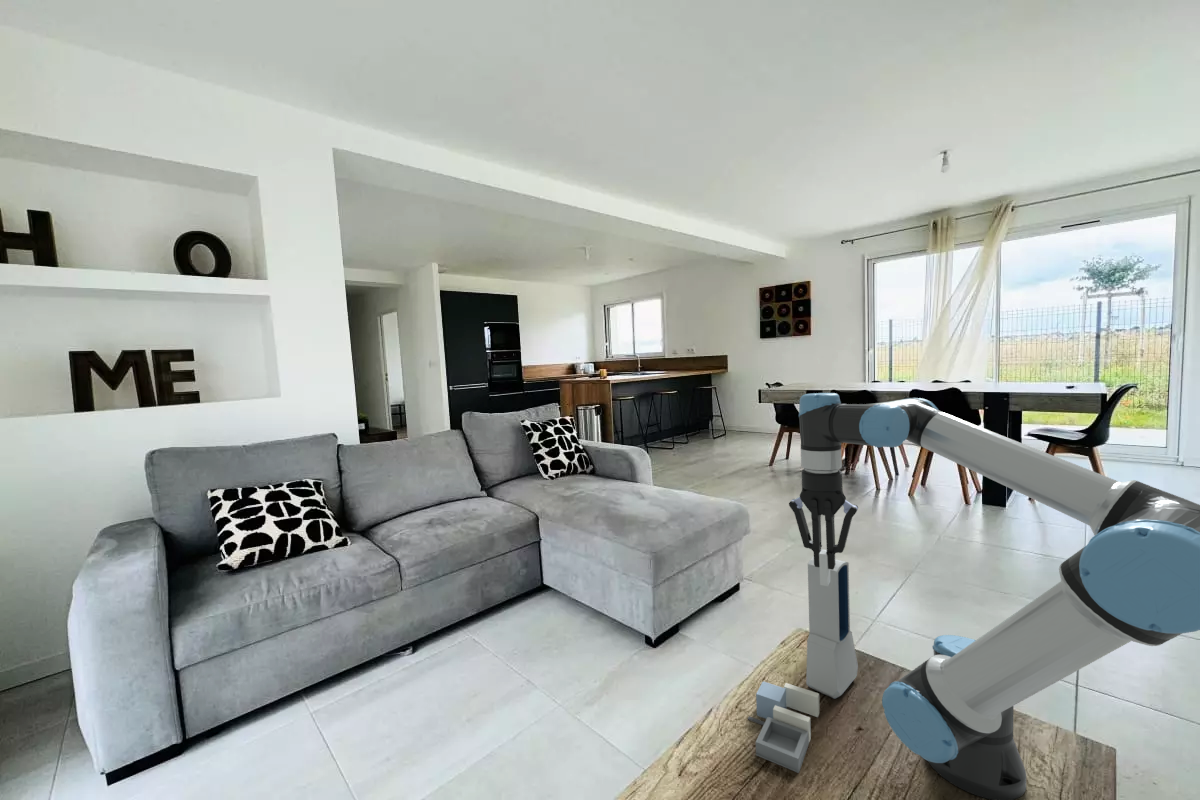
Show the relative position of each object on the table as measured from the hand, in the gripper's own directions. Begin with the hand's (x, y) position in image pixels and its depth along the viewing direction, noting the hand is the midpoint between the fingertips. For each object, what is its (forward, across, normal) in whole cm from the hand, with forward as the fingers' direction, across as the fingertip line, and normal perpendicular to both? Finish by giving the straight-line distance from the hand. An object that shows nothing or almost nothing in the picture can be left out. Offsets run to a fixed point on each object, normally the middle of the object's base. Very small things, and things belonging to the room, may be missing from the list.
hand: (825, 582), depth 100 cm
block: (+31, +12, +1) cm, 33 cm away
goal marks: (+31, +13, +1) cm, 34 cm away
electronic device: (+31, +2, -16) cm, 35 cm away
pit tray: (+31, +7, +11) cm, 34 cm away
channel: (+31, +6, +1) cm, 32 cm away
